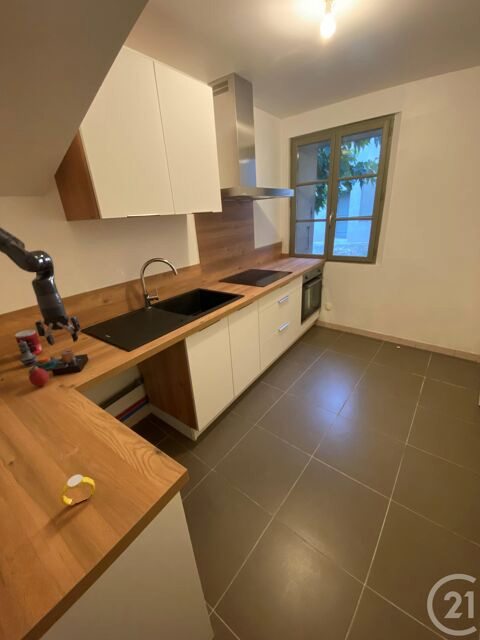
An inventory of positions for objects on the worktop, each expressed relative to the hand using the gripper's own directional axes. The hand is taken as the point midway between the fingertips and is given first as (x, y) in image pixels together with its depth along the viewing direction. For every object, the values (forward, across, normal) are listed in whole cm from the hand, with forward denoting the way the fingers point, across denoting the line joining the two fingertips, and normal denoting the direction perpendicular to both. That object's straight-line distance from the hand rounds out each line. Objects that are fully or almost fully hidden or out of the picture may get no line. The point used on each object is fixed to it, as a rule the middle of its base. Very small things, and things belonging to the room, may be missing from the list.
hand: (64, 342), depth 106 cm
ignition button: (+9, +11, -4) cm, 15 cm away
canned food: (+12, +24, -20) cm, 33 cm away
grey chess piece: (+12, +20, -9) cm, 25 cm away
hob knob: (+9, 0, 0) cm, 9 cm away
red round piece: (+12, +7, +11) cm, 18 cm away
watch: (+12, -24, +63) cm, 69 cm away
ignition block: (+12, +11, -4) cm, 16 cm away
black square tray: (+12, 0, 0) cm, 12 cm away
